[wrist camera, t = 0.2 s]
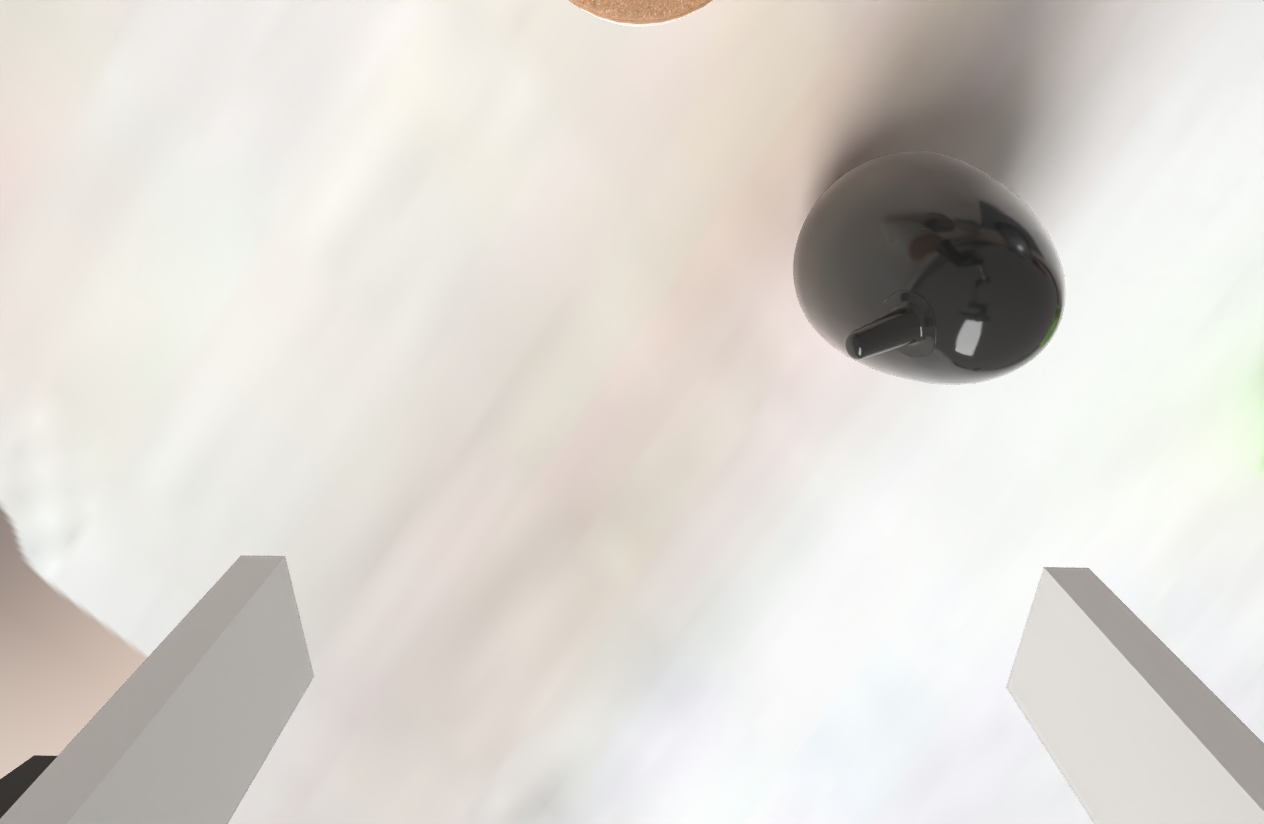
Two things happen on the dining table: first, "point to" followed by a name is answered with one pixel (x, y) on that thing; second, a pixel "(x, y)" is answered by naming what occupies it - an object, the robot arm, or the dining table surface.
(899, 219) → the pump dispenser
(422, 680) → the dining table surface
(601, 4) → the lidded jar
